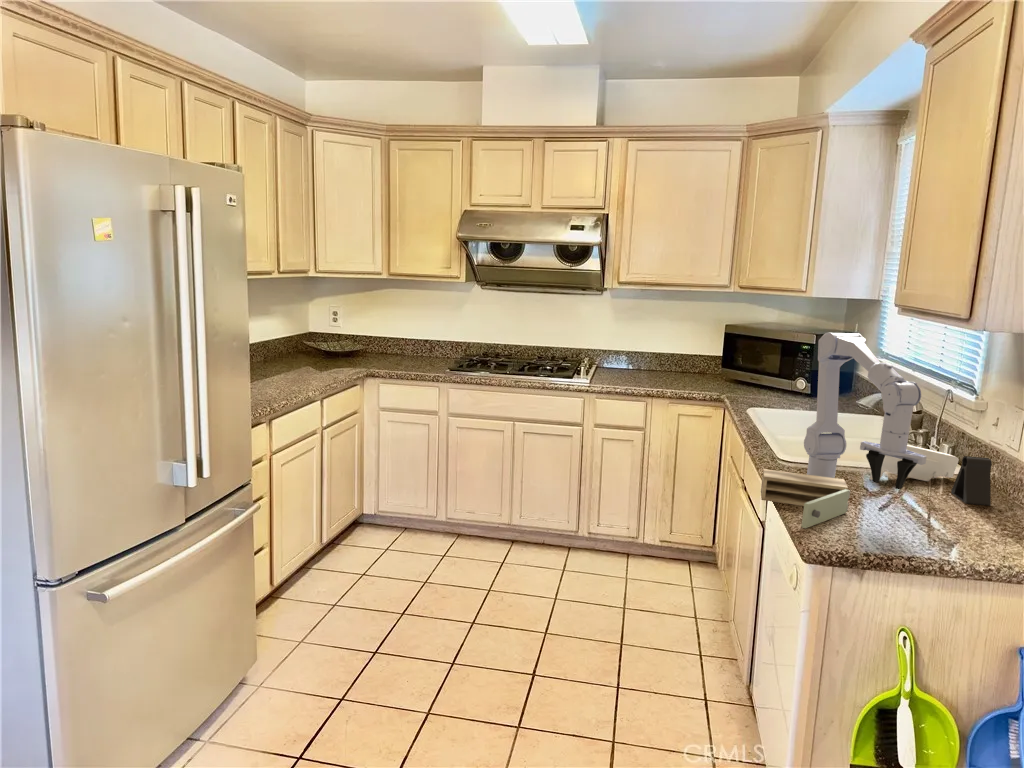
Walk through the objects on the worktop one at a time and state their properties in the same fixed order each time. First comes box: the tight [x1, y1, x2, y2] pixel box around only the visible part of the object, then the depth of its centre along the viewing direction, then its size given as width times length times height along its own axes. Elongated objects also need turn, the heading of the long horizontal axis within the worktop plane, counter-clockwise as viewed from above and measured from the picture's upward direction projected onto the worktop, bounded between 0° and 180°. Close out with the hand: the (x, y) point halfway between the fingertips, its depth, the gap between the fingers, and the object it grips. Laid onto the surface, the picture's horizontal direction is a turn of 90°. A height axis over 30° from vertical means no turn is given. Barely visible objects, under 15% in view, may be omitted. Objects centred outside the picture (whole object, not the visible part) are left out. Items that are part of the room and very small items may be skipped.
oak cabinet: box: [760, 468, 849, 507], centre depth 176 cm, size 7×20×6 cm, turn 71°
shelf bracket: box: [869, 444, 960, 482], centre depth 199 cm, size 6×25×13 cm, turn 99°
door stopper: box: [950, 455, 992, 507], centre depth 183 cm, size 9×6×12 cm, turn 170°
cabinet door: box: [801, 489, 851, 529], centre depth 163 cm, size 2×20×6 cm, turn 127°
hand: (887, 484), depth 163 cm, fingers open, 5 cm apart
